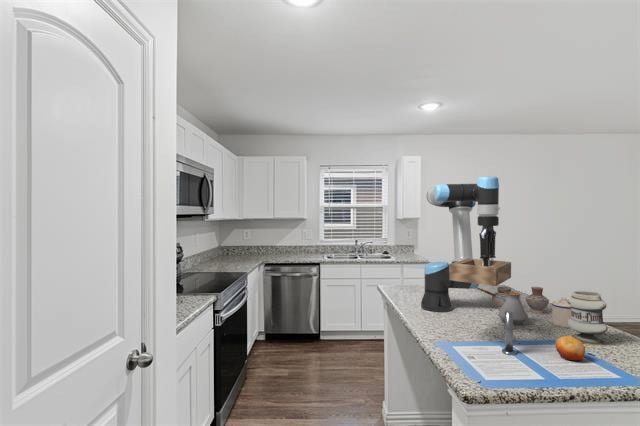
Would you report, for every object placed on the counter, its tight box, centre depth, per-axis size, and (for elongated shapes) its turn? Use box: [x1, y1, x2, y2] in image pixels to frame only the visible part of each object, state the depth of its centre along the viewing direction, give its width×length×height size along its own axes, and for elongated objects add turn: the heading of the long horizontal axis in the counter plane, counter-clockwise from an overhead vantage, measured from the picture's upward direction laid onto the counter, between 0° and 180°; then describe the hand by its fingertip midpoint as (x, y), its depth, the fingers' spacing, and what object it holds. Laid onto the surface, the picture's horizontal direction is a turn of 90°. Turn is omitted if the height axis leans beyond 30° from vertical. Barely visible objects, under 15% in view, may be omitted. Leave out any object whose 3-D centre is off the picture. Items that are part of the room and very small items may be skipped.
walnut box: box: [448, 258, 512, 287], centre depth 132 cm, size 16×20×6 cm
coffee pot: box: [474, 286, 529, 326], centre depth 156 cm, size 21×12×15 cm, turn 80°
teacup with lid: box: [551, 297, 571, 329], centre depth 152 cm, size 12×9×12 cm
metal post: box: [501, 311, 517, 356], centre depth 120 cm, size 4×4×14 cm
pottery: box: [491, 286, 550, 314], centre depth 175 cm, size 11×25×12 cm, turn 68°
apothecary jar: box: [567, 290, 609, 346], centre depth 132 cm, size 12×12×18 cm
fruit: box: [555, 335, 586, 361], centre depth 116 cm, size 8×8×8 cm
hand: (487, 274), depth 138 cm, fingers closed on walnut box, 3 cm apart
